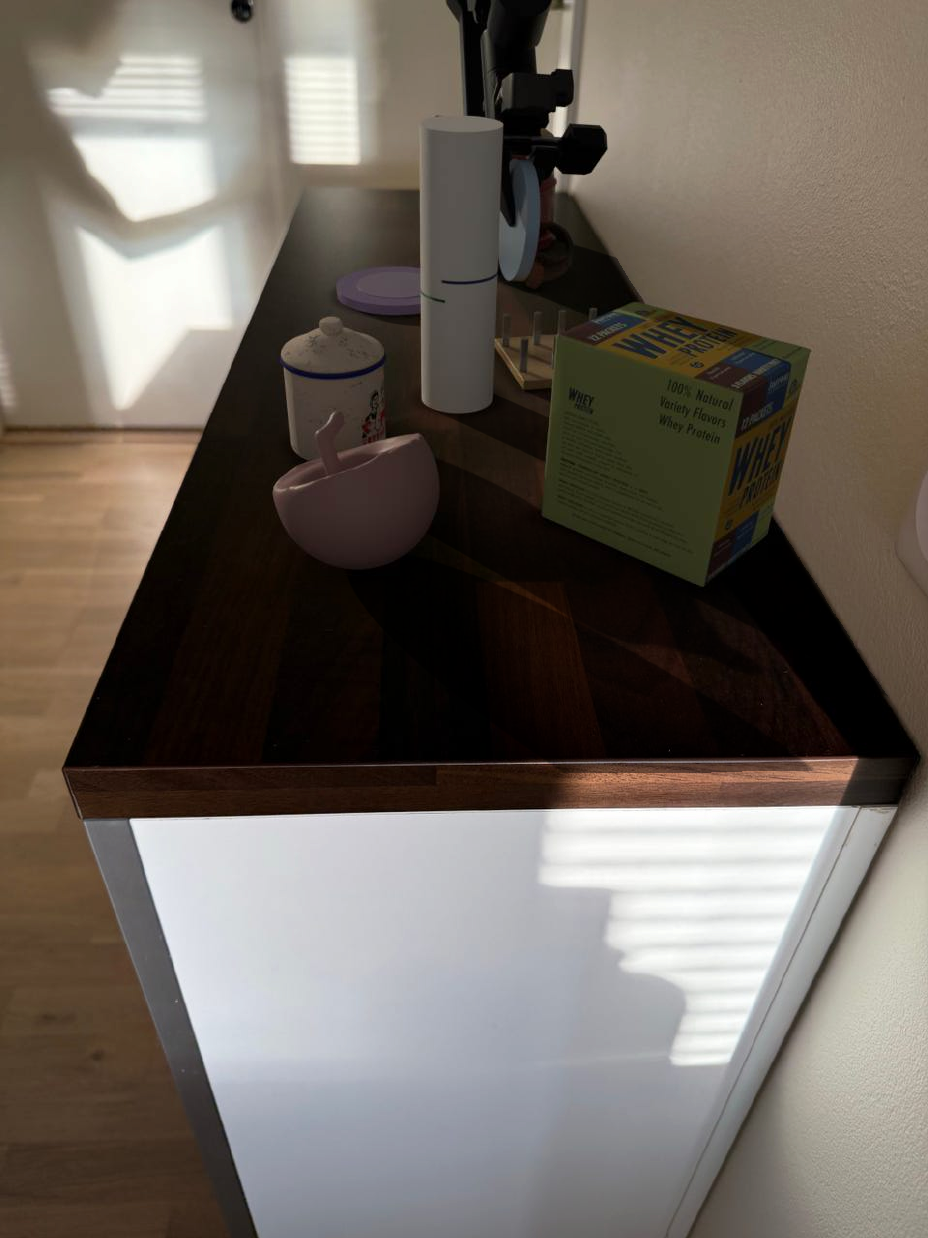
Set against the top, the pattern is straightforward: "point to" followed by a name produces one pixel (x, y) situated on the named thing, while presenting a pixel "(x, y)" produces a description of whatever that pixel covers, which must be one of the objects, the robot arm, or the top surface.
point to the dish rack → (532, 352)
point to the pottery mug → (551, 265)
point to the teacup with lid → (334, 387)
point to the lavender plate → (382, 290)
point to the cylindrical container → (459, 259)
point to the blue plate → (520, 223)
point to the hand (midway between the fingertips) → (520, 225)
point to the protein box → (669, 436)
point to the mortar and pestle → (360, 499)
